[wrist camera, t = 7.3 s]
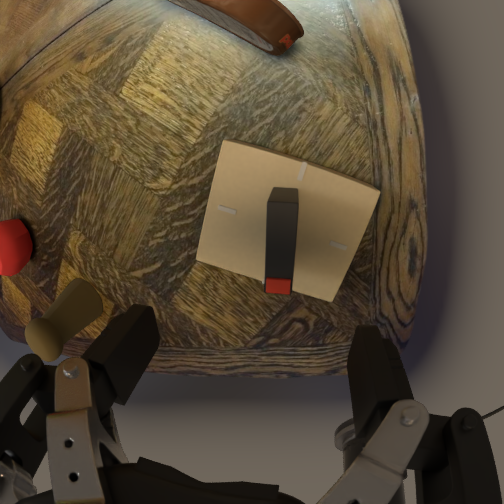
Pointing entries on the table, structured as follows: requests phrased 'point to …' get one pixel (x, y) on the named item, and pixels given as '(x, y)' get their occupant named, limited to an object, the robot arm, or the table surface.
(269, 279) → the red tipped black brick
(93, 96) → the table surface
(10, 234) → the apple
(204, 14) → the tin
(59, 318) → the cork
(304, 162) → the panel
